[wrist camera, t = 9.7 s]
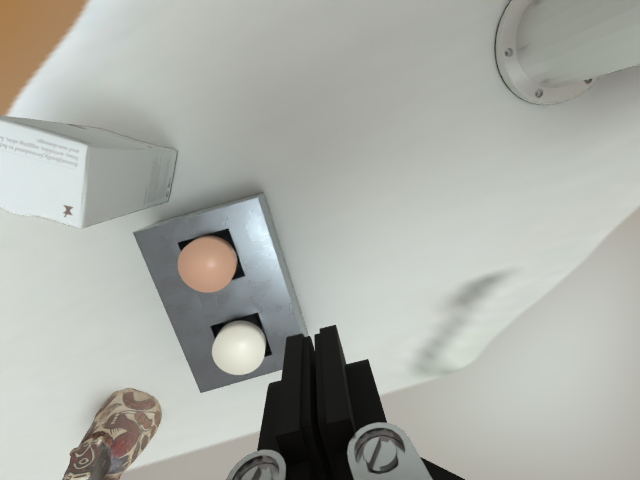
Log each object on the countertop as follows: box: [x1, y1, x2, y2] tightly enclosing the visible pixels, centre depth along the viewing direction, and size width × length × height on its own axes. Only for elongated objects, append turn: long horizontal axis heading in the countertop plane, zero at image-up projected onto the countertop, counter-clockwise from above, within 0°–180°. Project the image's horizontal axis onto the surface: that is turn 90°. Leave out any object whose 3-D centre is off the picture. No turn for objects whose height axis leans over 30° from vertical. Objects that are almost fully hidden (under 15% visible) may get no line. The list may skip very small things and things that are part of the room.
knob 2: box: [212, 312, 266, 375], centre depth 35 cm, size 5×5×8 cm
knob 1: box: [178, 230, 238, 293], centre depth 33 cm, size 5×5×8 cm
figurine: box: [62, 388, 161, 480], centre depth 36 cm, size 7×7×12 cm
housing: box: [133, 192, 308, 393], centre depth 36 cm, size 12×18×6 cm, turn 15°
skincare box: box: [0, 115, 177, 229], centre depth 28 cm, size 8×6×15 cm
